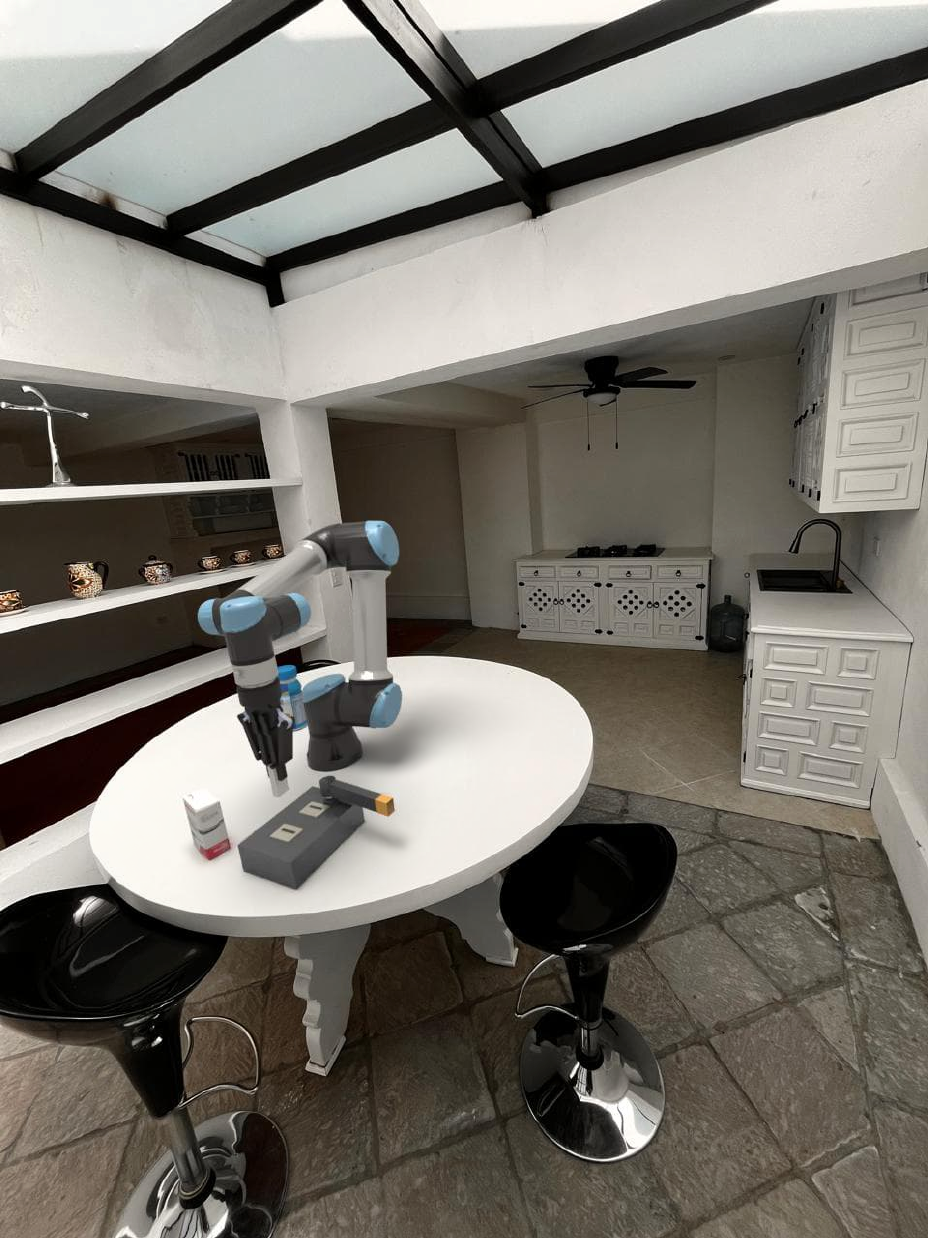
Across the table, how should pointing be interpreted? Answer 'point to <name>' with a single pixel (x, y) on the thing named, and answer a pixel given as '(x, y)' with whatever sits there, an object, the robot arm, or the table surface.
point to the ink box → (207, 823)
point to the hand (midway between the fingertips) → (281, 792)
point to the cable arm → (356, 795)
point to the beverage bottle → (292, 696)
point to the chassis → (299, 838)
